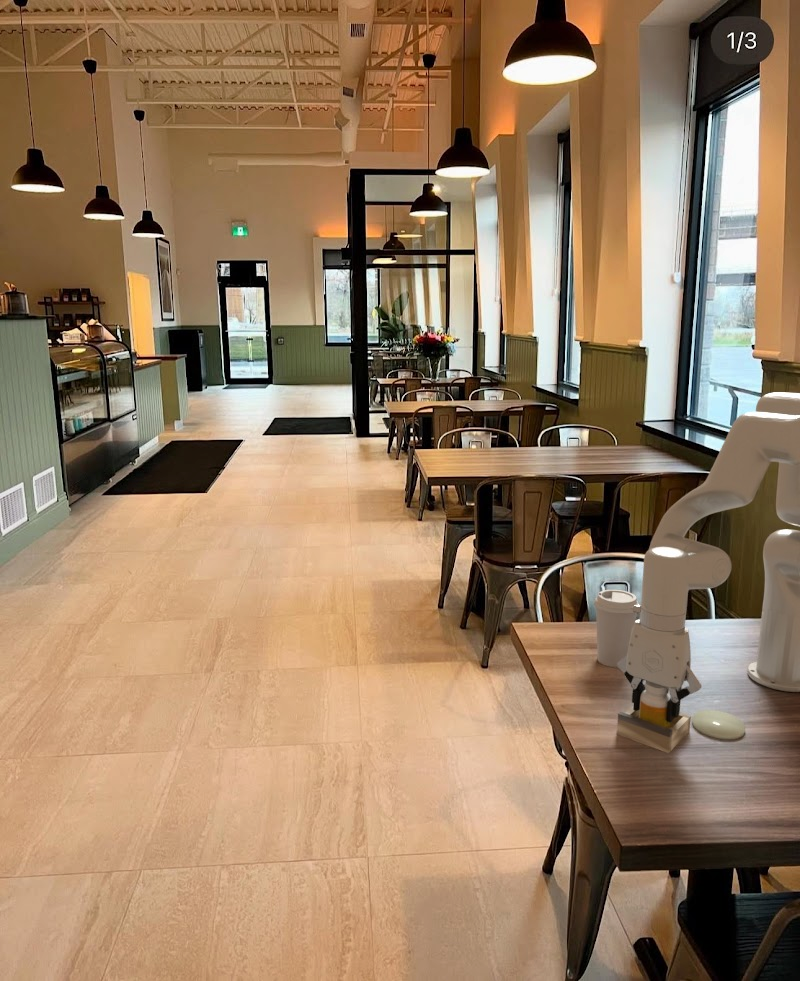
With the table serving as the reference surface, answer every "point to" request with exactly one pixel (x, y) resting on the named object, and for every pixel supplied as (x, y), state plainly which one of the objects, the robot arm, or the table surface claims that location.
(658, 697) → the supplement bottle
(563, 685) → the table surface
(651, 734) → the can holder
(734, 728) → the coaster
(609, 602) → the coffee cup
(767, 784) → the table surface
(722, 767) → the table surface
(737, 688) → the table surface
